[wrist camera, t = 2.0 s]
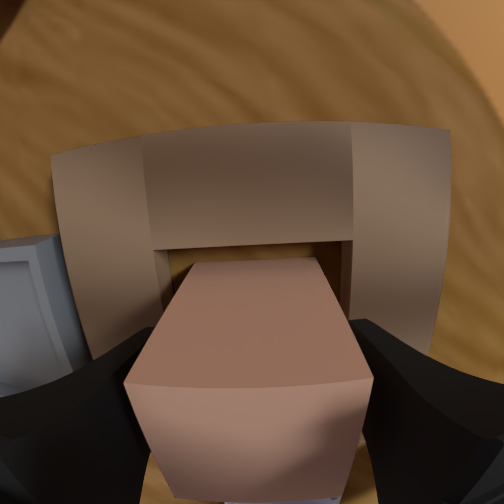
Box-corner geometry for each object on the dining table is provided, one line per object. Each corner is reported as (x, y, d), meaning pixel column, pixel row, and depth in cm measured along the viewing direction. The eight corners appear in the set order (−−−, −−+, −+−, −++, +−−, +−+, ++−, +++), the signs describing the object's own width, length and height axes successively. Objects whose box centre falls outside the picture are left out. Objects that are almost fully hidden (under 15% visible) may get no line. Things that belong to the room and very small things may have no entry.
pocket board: (394, 416, 14) (402, 435, 12) (137, 424, 15) (129, 443, 13) (429, 132, 10) (450, 130, 9) (72, 154, 11) (50, 155, 9)
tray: (111, 407, 14) (99, 429, 13) (1, 381, 15) (-13, 396, 13) (59, 233, 12) (34, 245, 10) (-47, 246, 12) (-66, 255, 10)
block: (312, 356, 13) (341, 496, 6) (208, 360, 13) (175, 497, 6) (315, 256, 12) (373, 377, 5) (194, 262, 12) (123, 383, 5)
